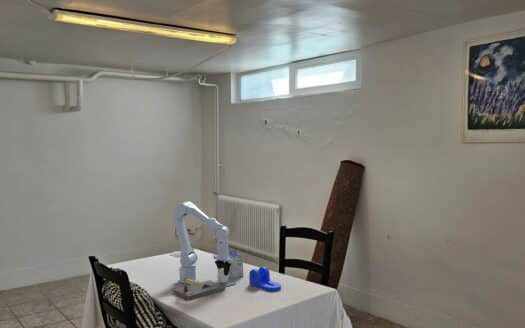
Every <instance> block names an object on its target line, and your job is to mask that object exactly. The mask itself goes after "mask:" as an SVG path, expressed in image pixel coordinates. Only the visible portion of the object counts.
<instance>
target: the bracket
mask: <svg viewBox="0 0 525 328" xmlns="http://www.w3.org/2000/svg"><path fill="white" fill-rule="evenodd" d="M270 275H271V274H270V270H269V268H268V267H267V266H260V267H259V268H253V269H250V271H249V286H252V287H255V288H258V289H261V290H264V291H267V292H279V291H280V290H282V284H281V283H279V282H276V281H273V280H271V278H270V277H271V276H270Z"/></svg>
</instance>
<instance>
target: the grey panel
mask: <svg viewBox="0 0 525 328" xmlns="http://www.w3.org/2000/svg"><path fill="white" fill-rule="evenodd" d="M215 282H216V281H212V280H210V279H209V280H205V281H202V282H200V283H203V287H202V288H200V287H197V286H194V285H192V284H188V291H184V286H181V287H177V288H175V289H173V294H175V295H176V296H178V297H181V298H182V299H185V300H187V301H189V300H190V301H191V300H193V299H194V300H195V299H197V298H202V297H204V296H208V295H212V294H215V293H219V291H220V292H222V290H223V291H225V290H226V287H225V286H223V285H221V284H218V283H215Z"/></svg>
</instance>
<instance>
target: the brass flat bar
mask: <svg viewBox="0 0 525 328" xmlns="http://www.w3.org/2000/svg"><path fill="white" fill-rule="evenodd" d="M188 283H189V284H188ZM189 285H194V286H197V287H200V288H202V287H203V283H201V282H200V281H199V282H197V281H194V280H191V279H188V278H184V283H183V287H184V291H188V286H189Z"/></svg>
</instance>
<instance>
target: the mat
mask: <svg viewBox="0 0 525 328" xmlns="http://www.w3.org/2000/svg"><path fill="white" fill-rule="evenodd" d="M214 282H215V283H218V284H221V285H223V286H225V288H228V287H231V286H235V285H236V282H233V281H230V280H228V281H226V282H220V281H214Z"/></svg>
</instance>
